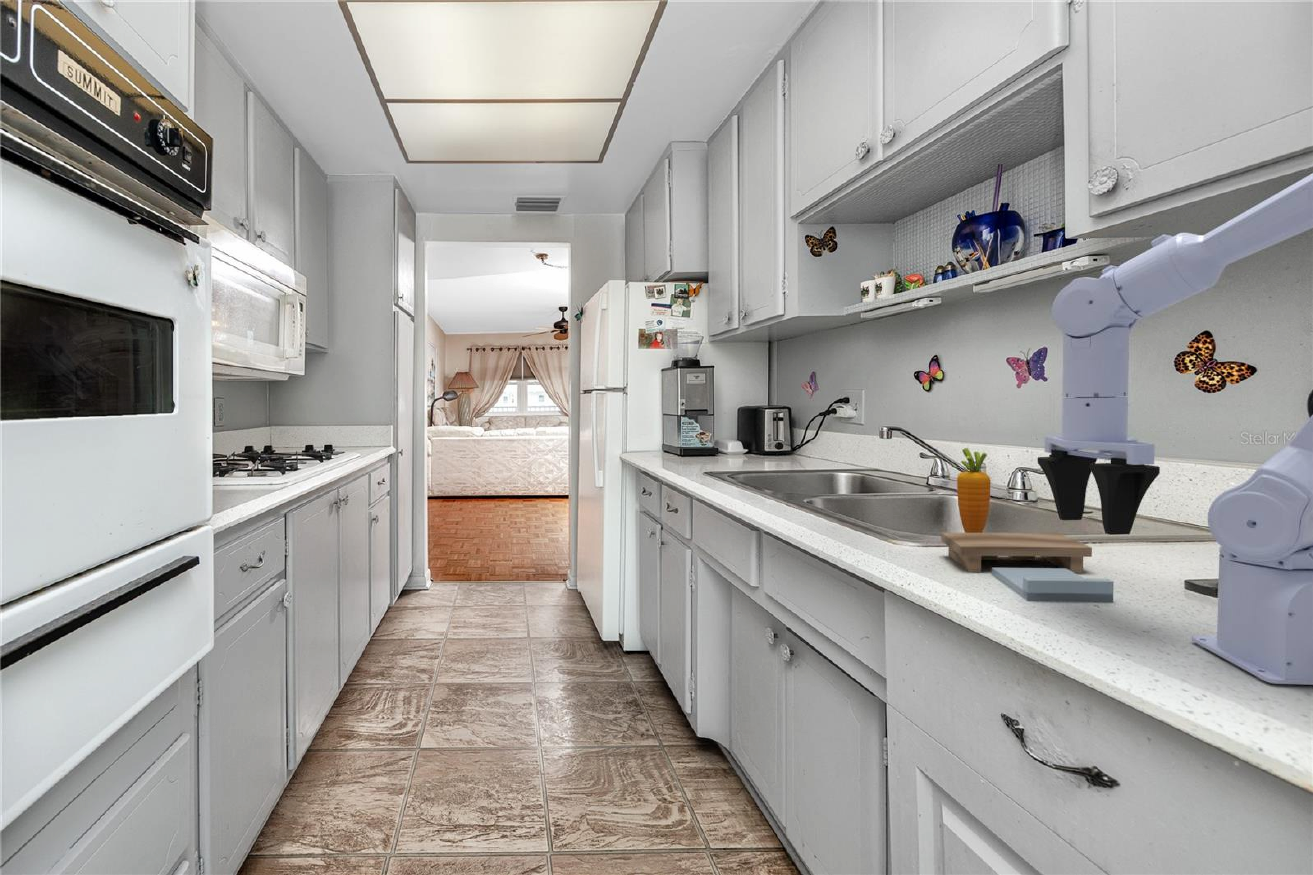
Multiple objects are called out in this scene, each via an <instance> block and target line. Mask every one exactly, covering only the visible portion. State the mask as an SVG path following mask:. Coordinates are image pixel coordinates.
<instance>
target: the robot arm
mask: <svg viewBox="0 0 1313 875" xmlns="http://www.w3.org/2000/svg"><path fill="white" fill-rule="evenodd" d="M1311 229H1313V173H1310V174H1309V175H1307V176H1305V177H1303V178H1301V180H1298V181H1297V182H1295V183H1293V184H1291V185H1289V186H1288V187H1286V188H1284V189H1283V190H1281V191H1279V192H1278V193H1275V194H1274V195H1272V196H1271V197H1269V198H1267V199H1265V200H1263V201H1262V202H1259V203H1258V204H1256V205H1255V206H1253V207H1251V208H1250V209H1247V210H1245V211H1244V212H1242V213H1240V214H1239V215H1237V216H1235V217H1234V218H1232V219H1230V220H1228V221H1226V222H1225V223H1223V224H1221V225H1218V226H1217V227H1216V228H1214V229H1212V230H1210V231H1208V232H1207V233H1205V234H1203V235H1202V234H1201V235H1200V234H1196V233H1190V232H1180V233H1177V234H1176V235H1174V236H1172V235H1169V234H1162V235H1161V236H1158V237H1156V238H1155V239H1153V240H1152V241H1151V242H1150V244H1151V246H1152V248H1150V249H1147V250H1146V251H1144V252H1142V253H1141V254H1139V255H1137V256H1135V257H1133V258H1131V259H1129V260H1127V261H1125V262H1124V263H1122V264H1120V265H1118V266H1116V265H1109V266H1107V267H1105V268H1104V269H1102V270H1101V273H1102V274H1101V275H1100V277H1099V278H1095V277H1078V278H1075V279H1073V280H1072V281H1070V283H1068V284H1067V285H1066V286H1065V287H1063V288H1062V289H1061V290H1060V291H1059V292H1058V293H1057V295H1056V297H1055V298H1054V300H1053V304H1052V307H1051V317H1052V320H1053V323H1054V325H1055V326H1056V328H1057V329H1059V331H1061V332H1062V338H1063V339H1062V341H1063V342H1062V394H1061V395H1062V403H1061V404H1062V407H1061V408H1062V409H1061V410H1062V411H1061V414H1062V418H1061V420H1062V422H1061V424H1062V425H1061V426H1062V427H1061V435H1044V453H1049V454H1048V455H1049V456H1039V457H1037V464H1038V466H1040V468H1041V470H1042V472H1043V473H1044V475H1045V478H1046V479H1047V481H1048V484H1049V487H1050V490H1051V493H1052V495H1053V500H1054V504H1055V509H1056V511H1057V514H1058V517H1059V520H1061V521H1082V519H1083V515H1084V512H1085V504H1086V494H1087V488H1088V484H1089V480H1090V477H1091V473H1092V476H1093V478H1094V480H1095V483H1096V486H1097V489H1098V493H1099V494H1098V495H1099V497H1100V507H1101V508H1100V509H1101V520H1102V527H1103V531H1104V534H1106V535H1111V536H1112V535H1114V536H1117V535H1118V536H1119V535H1123V536H1124V535H1130V534H1131V531H1132V529H1133V526H1134V522H1135V519H1136V517H1137V514H1138V511H1139V508H1140V505H1141V503H1142V501H1143V499H1144V496H1145V495H1146V493H1147V491H1148V490H1149V488H1150V486H1151V485H1152V483H1153V482H1154V481H1155V480H1156V479H1157V477H1158V476H1159V475H1160V474H1161V473H1160V472H1161V469H1160V467H1161V466H1157V465H1155V448H1156V446H1155V444H1154V443H1146V442H1140V441H1138V439H1136V438H1128V428H1129V427H1128V425H1129V424H1128V422H1129V417H1128V416H1129V366H1130V365H1129V360H1130V351H1129V350H1130V346H1129V345H1130V343H1129V342H1130V334H1131V332H1132V331H1133V329H1134V328H1135V327H1136V326H1137V325H1138V323H1139V321H1141V320H1144V319H1145V318H1148V317H1149V316H1151V315H1153V314H1156V313H1158V312H1161V311H1163V310H1164V309H1166V308H1167V309H1168V308H1169V307H1171V306H1173V305H1175V304H1177V303H1180V302H1182V301H1184V300H1186V299H1189V298H1190V297H1193V296H1195V295H1198V294H1199V293H1202V292H1204V291H1207V290H1208V289H1211V288H1212V287H1214V286H1215V285H1216V284H1217V283H1218V281H1219V279H1220V277H1221V275H1222V273H1223V271H1224V269H1225V268H1226V266H1228V265H1231V264H1233V263H1235V262H1237V261H1239V260H1241V259H1243V258H1246V257H1249V256H1250V255H1253V254H1255V253H1258V252H1260V251H1262V250H1265V249H1267V248H1269V247H1272V246H1274V245H1276V244H1278V243H1281V242H1283V241H1285V240H1288V239H1291V238H1292V237H1294V236H1297V235H1300V234H1302V233H1305V232H1307V231H1308V230H1311ZM1084 450H1086V451H1084ZM1087 450H1088V451H1087ZM1089 450H1091V451H1089ZM1092 451H1097V452H1092ZM1098 459H1099V460H1107V461H1110V462H1098V463H1096V462H1097V461H1098ZM1207 526H1208V529H1209V532H1210V533H1211V535H1212V537H1213V539H1214V540H1215V541H1216V542H1217V544H1218V545H1219V551H1218V552H1219V554H1218V582H1217V583H1218V585H1217V618H1216V620H1217V621H1216V623H1217V624H1216V636H1214V635H1212V636H1211V635H1193V636H1192V638H1191V640H1192V642H1193V643H1195V644H1197V645H1199V646H1201V647H1202V648H1204V649H1206V650H1208V651H1209V652H1212V653H1213V654H1215V655H1217V656H1219V657H1221V658H1223V659H1224V660H1226V661H1228V662H1230V663H1232V664H1233V665H1234V666H1236V667H1239V668H1241V669H1242V670H1244V671H1245V672H1246V671H1247V672H1248V673H1250V674H1251V675H1254V676H1255V677H1256V678H1259V679H1261V680H1262V681H1264V682H1266V683H1268V684H1269V683H1270V684H1275V685H1277V684H1278V685H1303V686H1304V685H1306V686H1307V685H1308V686H1309V685H1310V686H1313V414H1312V415H1311V416H1310V418H1309V419H1308V420H1307V421H1306V422H1305V423H1304V424H1303V426H1302V427H1301V428H1300V429H1299V430H1298V432H1297V433H1296V434H1295V435H1294V436H1293V437H1292V439H1291V440H1290V442H1288V444H1287V445H1286V446H1285V447H1284V448H1282V449H1281V450H1279V451H1278V452H1277V453H1276V454H1275V455H1273V456H1272V457H1270V458H1269V459H1268V460H1266V461H1265V462H1264V463H1262V465H1260V466H1258V468H1257V469H1256V470H1255V471H1254V473H1253V474H1252V475H1250V477H1249V478H1248V479H1247V480H1246V481H1244V482H1242V483H1241V484H1239V485H1238V486H1235V487H1233V488H1230V489H1227V490H1226V491H1223V492H1222V493H1220V494H1219V495H1218V496H1217V497H1216V498H1215V499H1214V500H1213V502H1212V503H1211V504H1210V507H1209V509H1208V511H1207Z"/></svg>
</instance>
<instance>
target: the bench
mask: <svg viewBox="0 0 1313 875" xmlns="http://www.w3.org/2000/svg"><path fill="white" fill-rule="evenodd" d="M940 537H941V538H940V540H941V542H942V543H944V544H945V545H946V546H948V555H947V556H949V558H950V559H951V560H954V561H955V563H957V564H959V566H961V567H962V568H964V570H966V571H967V572H968V573H982V561H983V560H984V561H998V560H999V557H1008V558H1009V559H1010V560H1012V561H1036V559H1037V558H1036V557H1040V558H1042V559H1043V560H1045V561H1047V562H1049V563H1050V564H1053V565H1055V566H1056V567H1058V568H1066V569H1068V570H1070V571H1072V572H1074V573H1075V574H1084V558H1087V557H1088V558H1089V557H1090V558H1091V557H1093V556H1092V554H1093V552H1092V550H1093V547H1092V546H1089V545H1087V544H1085V543H1082V542H1080V541H1078V540H1076V539H1073V538H1071V537H1069V536H1066V535H1064V534H1062V533H1059V532H982V533H965V532H941V533H940Z"/></svg>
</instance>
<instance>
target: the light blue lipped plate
mask: <svg viewBox="0 0 1313 875" xmlns="http://www.w3.org/2000/svg"><path fill="white" fill-rule="evenodd" d="M991 575H992V576H993V577H994V578H996V579H997V580H998V581H1000V582H1001V583H1002V584H1004V585H1005V586H1006V587H1008V588H1009V589H1011V590H1012V592H1013V591H1014V593H1016V594H1017V595H1019V596H1020V597H1021V598H1023V599H1024V600H1026V601H1027V602H1066V603H1067V602H1073V603H1075V602H1077V603H1078V602H1079V603H1114V581H1113V580H1111V579H1109V578H1085V577H1082V576H1081V575H1080V574H1078V573H1074V572H1072V571H1070V570H1068V569H1066V568H1060V567H1058V568H1056V567H1055V568H1054V567H1052V568H1051V567H1046V568H1045V567H991Z"/></svg>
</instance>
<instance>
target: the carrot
mask: <svg viewBox="0 0 1313 875" xmlns="http://www.w3.org/2000/svg"><path fill="white" fill-rule="evenodd" d="M961 451H962V453H963V454H964V457H965V458H966V461H965V460H961V461H960V462H961V463H962V465H963V466H964V467H965V468H966V469H967V470H965V471H961V472H960V473H959V474H958V475H957V478H956V487H957V488H956V489H957V506H958V511H959V512H958V513H959V516H960V521H961V525H962V528H963V531H964V533H984V530H985V527H986V524H987V519H988V515H989V510H990V503H991V499H990V498H991V477H990V476H989V475H988V474H987V473H986V472H985V471H980V469H981V467H982V465H983V463H984V461H985V459H986V457H987V456H988V453H987V452H985V451H984V452H983V453H980V452H978V451H974V452H973V455H972V453H971V451H970V449H969V447H964V448H963V449H962V450H961ZM973 456H974V457H973Z"/></svg>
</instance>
